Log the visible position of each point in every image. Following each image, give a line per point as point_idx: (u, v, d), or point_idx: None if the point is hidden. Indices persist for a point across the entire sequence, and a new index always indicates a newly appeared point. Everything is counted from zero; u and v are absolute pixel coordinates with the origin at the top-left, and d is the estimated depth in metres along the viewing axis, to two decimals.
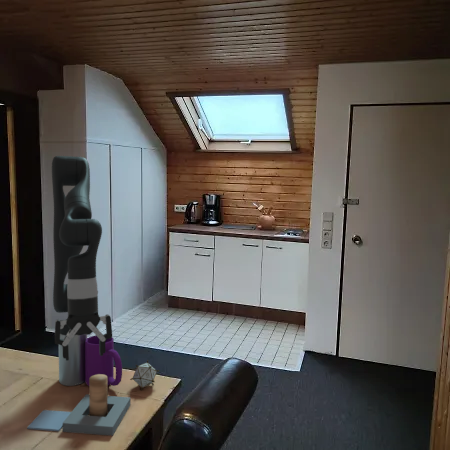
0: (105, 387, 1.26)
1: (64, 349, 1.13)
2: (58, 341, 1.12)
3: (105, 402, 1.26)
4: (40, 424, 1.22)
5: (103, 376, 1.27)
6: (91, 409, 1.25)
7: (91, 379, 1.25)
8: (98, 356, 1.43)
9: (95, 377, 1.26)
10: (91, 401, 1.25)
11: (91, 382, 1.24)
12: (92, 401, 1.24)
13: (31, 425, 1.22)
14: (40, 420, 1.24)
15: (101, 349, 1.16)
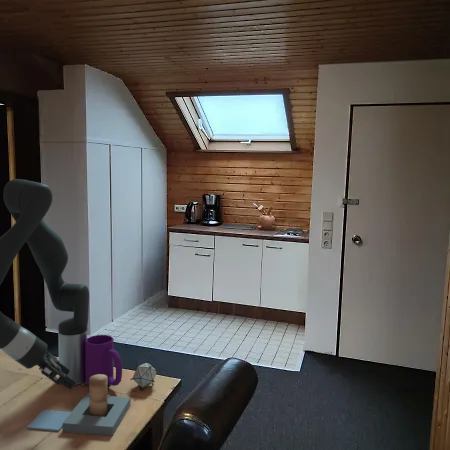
0: (105, 387, 1.26)
1: None
2: None
3: (105, 402, 1.26)
4: (40, 424, 1.22)
5: (103, 376, 1.27)
6: (91, 409, 1.25)
7: (91, 379, 1.25)
8: (98, 356, 1.43)
9: (95, 377, 1.26)
10: (91, 401, 1.25)
11: (91, 382, 1.24)
12: (92, 401, 1.24)
13: (31, 425, 1.22)
14: (40, 420, 1.24)
15: None
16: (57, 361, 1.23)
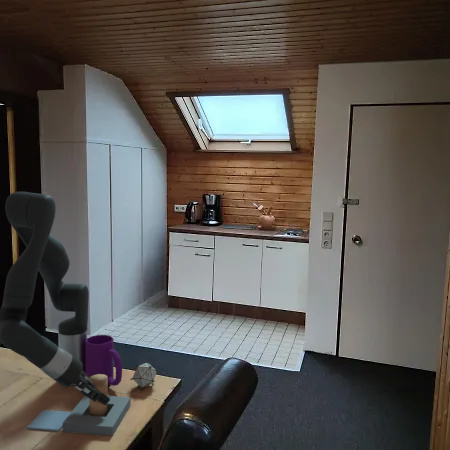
0: (105, 387, 1.26)
1: None
2: None
3: None
4: (40, 424, 1.22)
5: (103, 376, 1.27)
6: (91, 409, 1.25)
7: (91, 379, 1.25)
8: (98, 356, 1.43)
9: (95, 377, 1.26)
10: (91, 401, 1.25)
11: None
12: (92, 401, 1.25)
13: (31, 425, 1.22)
14: (40, 420, 1.24)
15: None
16: None
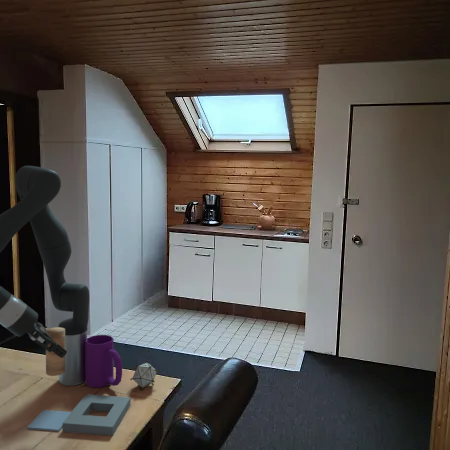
0: (63, 339, 1.22)
1: None
2: None
3: None
4: (40, 424, 1.22)
5: (60, 329, 1.23)
6: (47, 362, 1.21)
7: (48, 331, 1.21)
8: (98, 356, 1.43)
9: (52, 330, 1.22)
10: (47, 353, 1.21)
11: None
12: (48, 353, 1.21)
13: (31, 425, 1.22)
14: (40, 420, 1.24)
15: None
16: None
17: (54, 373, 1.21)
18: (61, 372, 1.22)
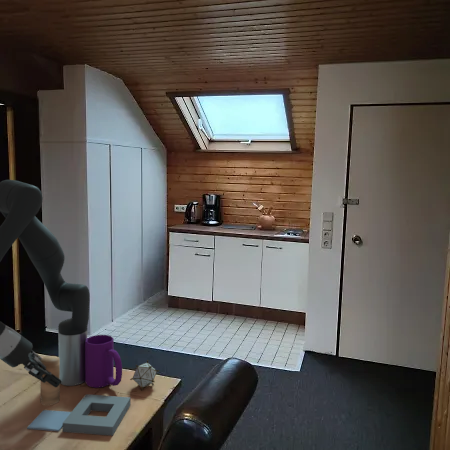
0: (57, 369, 1.22)
1: None
2: None
3: None
4: (40, 424, 1.22)
5: (55, 358, 1.24)
6: (42, 391, 1.22)
7: (42, 360, 1.22)
8: (98, 356, 1.43)
9: (47, 359, 1.23)
10: (42, 383, 1.21)
11: None
12: (42, 383, 1.21)
13: (31, 425, 1.22)
14: (40, 420, 1.24)
15: None
16: None
17: (48, 402, 1.22)
18: (55, 401, 1.23)
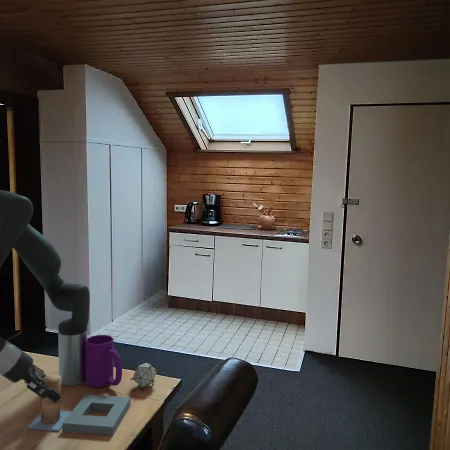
0: (58, 388, 1.23)
1: None
2: None
3: (57, 403, 1.23)
4: (40, 424, 1.22)
5: (57, 377, 1.24)
6: (43, 410, 1.22)
7: None
8: (98, 356, 1.43)
9: (49, 378, 1.24)
10: (43, 402, 1.22)
11: None
12: (44, 402, 1.22)
13: (31, 425, 1.22)
14: (40, 420, 1.24)
15: None
16: (43, 375, 1.26)
17: (49, 421, 1.22)
18: (56, 420, 1.23)
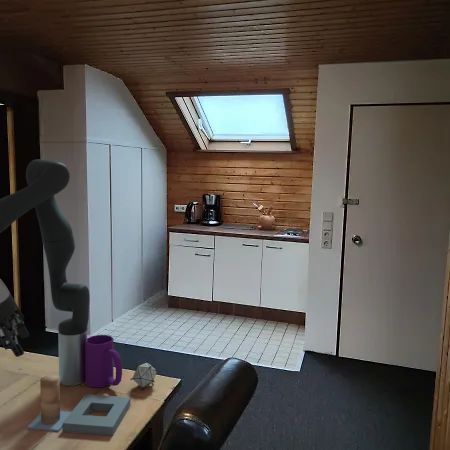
0: (57, 388, 1.23)
1: None
2: None
3: (57, 403, 1.23)
4: (40, 424, 1.22)
5: (55, 377, 1.24)
6: (42, 411, 1.22)
7: (42, 380, 1.23)
8: (98, 356, 1.43)
9: (47, 378, 1.24)
10: (42, 402, 1.22)
11: (42, 383, 1.21)
12: (43, 403, 1.22)
13: (31, 425, 1.22)
14: (40, 420, 1.24)
15: None
16: (21, 322, 1.24)
17: (49, 422, 1.22)
18: (56, 420, 1.23)
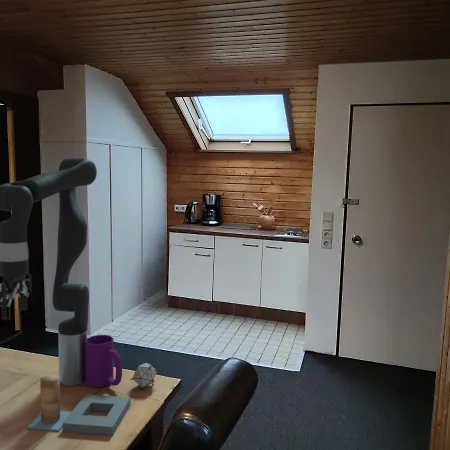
0: (57, 388, 1.23)
1: None
2: None
3: (57, 403, 1.23)
4: (40, 424, 1.22)
5: (55, 377, 1.24)
6: (42, 411, 1.22)
7: (42, 380, 1.23)
8: (98, 356, 1.43)
9: (47, 378, 1.24)
10: (42, 402, 1.22)
11: (42, 383, 1.22)
12: (43, 403, 1.22)
13: (31, 425, 1.22)
14: (40, 420, 1.24)
15: None
16: (25, 294, 1.26)
17: (49, 422, 1.22)
18: (56, 420, 1.23)
